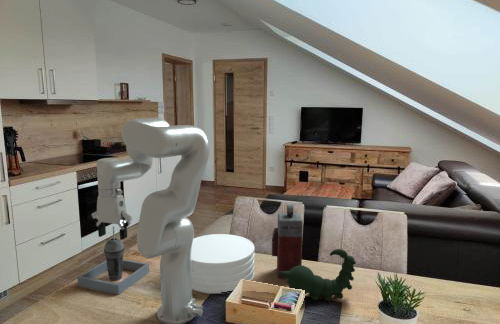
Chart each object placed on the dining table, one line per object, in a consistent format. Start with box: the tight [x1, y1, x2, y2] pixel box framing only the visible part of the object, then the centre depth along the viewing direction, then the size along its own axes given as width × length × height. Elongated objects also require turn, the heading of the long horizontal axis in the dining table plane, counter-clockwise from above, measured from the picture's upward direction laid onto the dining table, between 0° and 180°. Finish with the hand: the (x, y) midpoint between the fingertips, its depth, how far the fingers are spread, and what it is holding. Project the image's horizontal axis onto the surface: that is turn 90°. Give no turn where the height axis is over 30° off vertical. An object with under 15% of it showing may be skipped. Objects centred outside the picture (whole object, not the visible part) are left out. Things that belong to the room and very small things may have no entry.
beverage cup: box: [103, 226, 125, 281], centre depth 135 cm, size 7×7×20 cm
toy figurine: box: [279, 248, 357, 303], centre depth 123 cm, size 9×19×25 cm
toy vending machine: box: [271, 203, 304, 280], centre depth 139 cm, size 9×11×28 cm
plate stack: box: [191, 233, 255, 294], centre depth 139 cm, size 28×28×12 cm
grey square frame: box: [77, 258, 150, 295], centre depth 136 cm, size 18×18×4 cm
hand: (112, 237), depth 134 cm, fingers open, 9 cm apart
